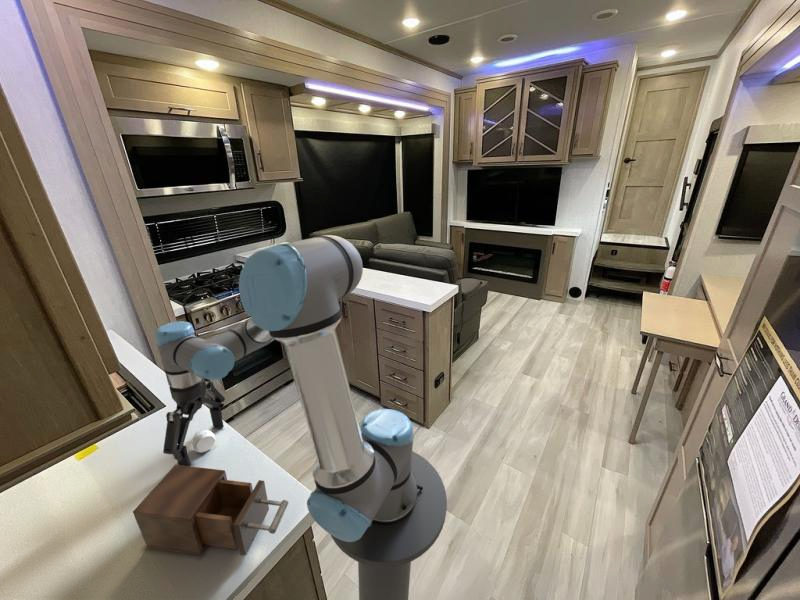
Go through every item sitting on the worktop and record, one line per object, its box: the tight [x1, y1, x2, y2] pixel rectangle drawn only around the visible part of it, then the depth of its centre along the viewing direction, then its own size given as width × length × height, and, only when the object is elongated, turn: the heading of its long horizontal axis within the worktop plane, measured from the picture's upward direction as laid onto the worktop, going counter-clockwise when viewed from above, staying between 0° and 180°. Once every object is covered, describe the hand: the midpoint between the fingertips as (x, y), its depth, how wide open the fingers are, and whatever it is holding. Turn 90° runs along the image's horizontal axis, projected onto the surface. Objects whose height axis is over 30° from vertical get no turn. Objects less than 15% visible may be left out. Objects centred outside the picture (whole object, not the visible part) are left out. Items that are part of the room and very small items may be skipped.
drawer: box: [194, 479, 289, 556], centre depth 65 cm, size 16×9×9 cm, turn 84°
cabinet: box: [132, 464, 228, 556], centre depth 66 cm, size 12×11×11 cm
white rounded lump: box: [191, 429, 216, 453], centre depth 86 cm, size 6×6×5 cm
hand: (203, 445), depth 87 cm, fingers open, 13 cm apart
